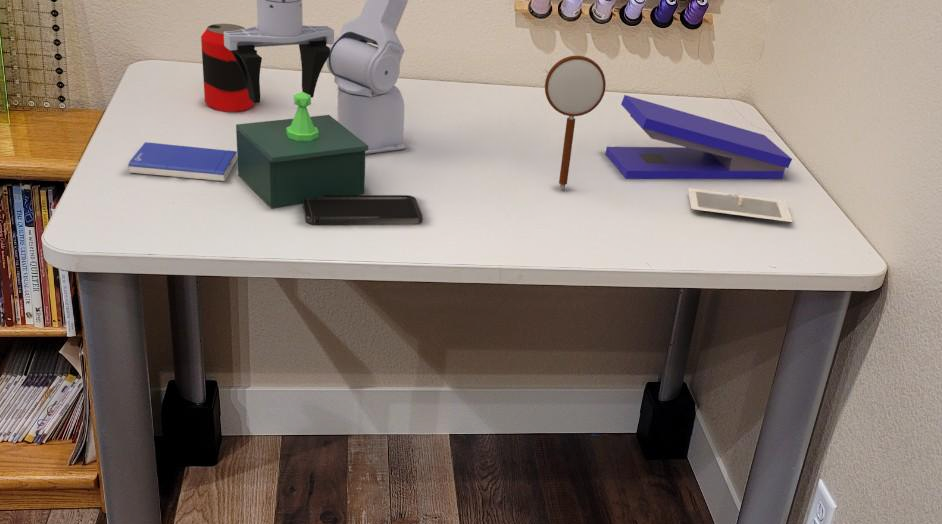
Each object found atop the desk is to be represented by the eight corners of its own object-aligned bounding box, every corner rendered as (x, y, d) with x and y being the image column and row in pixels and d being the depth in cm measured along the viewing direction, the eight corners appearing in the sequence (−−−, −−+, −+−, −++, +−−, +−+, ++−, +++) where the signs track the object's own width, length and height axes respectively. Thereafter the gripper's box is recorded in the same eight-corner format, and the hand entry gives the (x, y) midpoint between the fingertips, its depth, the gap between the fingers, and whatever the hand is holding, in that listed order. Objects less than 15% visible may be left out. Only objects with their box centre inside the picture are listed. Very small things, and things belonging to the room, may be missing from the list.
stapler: (604, 152, 170) (612, 94, 165) (757, 153, 179) (770, 98, 174) (627, 181, 161) (637, 119, 156) (788, 180, 170) (802, 122, 165)
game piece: (279, 132, 140) (278, 88, 137) (308, 127, 142) (307, 84, 139) (296, 143, 137) (296, 99, 134) (325, 138, 140) (325, 94, 137)
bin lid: (368, 150, 140) (368, 145, 140) (272, 162, 133) (272, 157, 132) (329, 119, 148) (329, 114, 148) (236, 129, 140) (235, 124, 140)
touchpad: (790, 228, 153) (794, 215, 152) (689, 215, 152) (692, 202, 151) (783, 207, 160) (786, 194, 158) (686, 194, 159) (689, 181, 158)
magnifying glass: (589, 188, 156) (608, 56, 146) (591, 193, 155) (610, 60, 144) (532, 185, 154) (547, 51, 144) (534, 190, 153) (549, 55, 143)
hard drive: (127, 162, 139) (223, 171, 141) (145, 140, 146) (236, 149, 148) (128, 173, 140) (224, 182, 142) (146, 151, 147) (237, 160, 148)
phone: (302, 195, 140) (414, 195, 144) (302, 202, 140) (414, 202, 145) (306, 220, 133) (423, 219, 138) (306, 228, 134) (423, 226, 138)
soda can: (217, 93, 170) (213, 19, 164) (262, 101, 170) (260, 27, 164) (196, 107, 164) (191, 30, 158) (243, 115, 163) (240, 38, 157)
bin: (364, 194, 144) (365, 148, 141) (271, 208, 136) (269, 160, 133) (328, 163, 151) (329, 119, 148) (238, 175, 144) (236, 129, 140)
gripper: (318, -13, 143) (318, 84, 150) (212, -10, 135) (218, 93, 141) (341, 1, 138) (340, 100, 145) (233, 5, 130) (238, 110, 137)
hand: (281, 97), depth 143 cm, fingers open, 7 cm apart
